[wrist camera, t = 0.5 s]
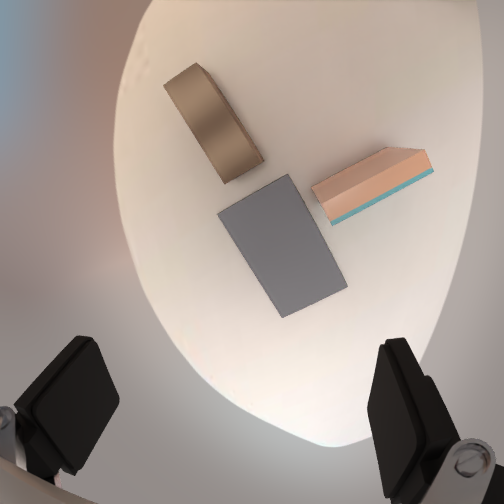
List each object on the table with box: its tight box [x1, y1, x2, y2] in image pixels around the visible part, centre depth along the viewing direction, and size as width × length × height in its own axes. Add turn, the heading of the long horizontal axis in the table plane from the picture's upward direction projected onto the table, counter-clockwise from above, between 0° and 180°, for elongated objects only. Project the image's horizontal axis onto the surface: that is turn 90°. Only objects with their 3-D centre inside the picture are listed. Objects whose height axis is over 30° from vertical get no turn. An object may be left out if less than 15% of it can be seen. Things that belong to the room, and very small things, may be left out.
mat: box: [217, 174, 348, 318], centre depth 35 cm, size 9×15×1 cm, turn 31°
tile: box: [311, 147, 434, 226], centre depth 27 cm, size 2×10×10 cm, turn 121°
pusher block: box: [163, 63, 264, 184], centre depth 30 cm, size 12×4×5 cm, turn 31°
